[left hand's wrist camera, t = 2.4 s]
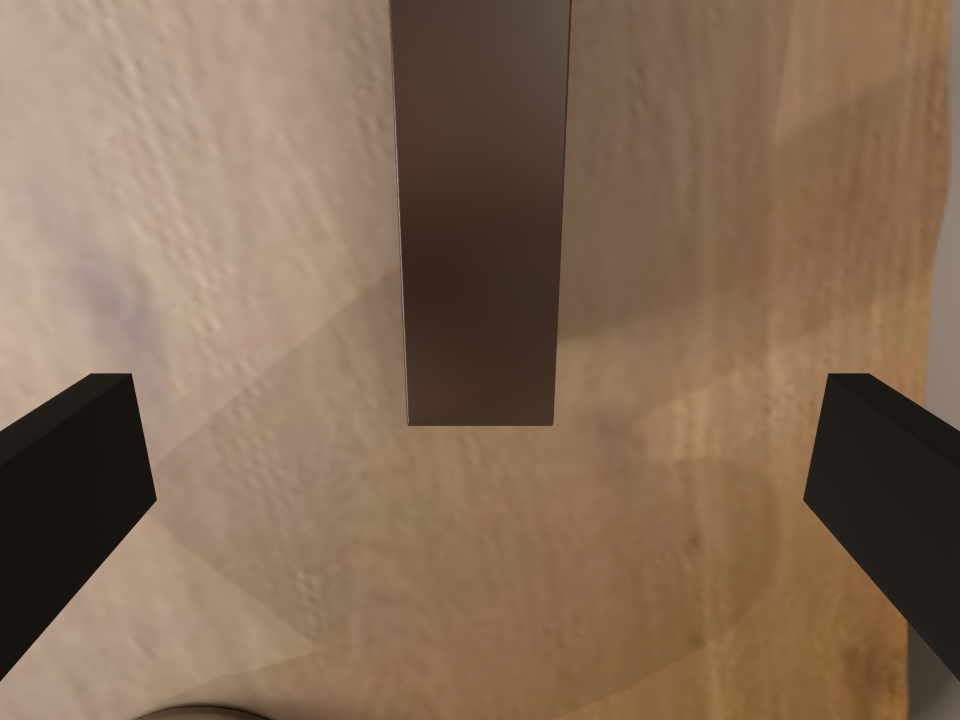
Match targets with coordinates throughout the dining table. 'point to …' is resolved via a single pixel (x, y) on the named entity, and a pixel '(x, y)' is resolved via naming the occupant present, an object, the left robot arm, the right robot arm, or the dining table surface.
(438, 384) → the beam
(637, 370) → the dining table surface
